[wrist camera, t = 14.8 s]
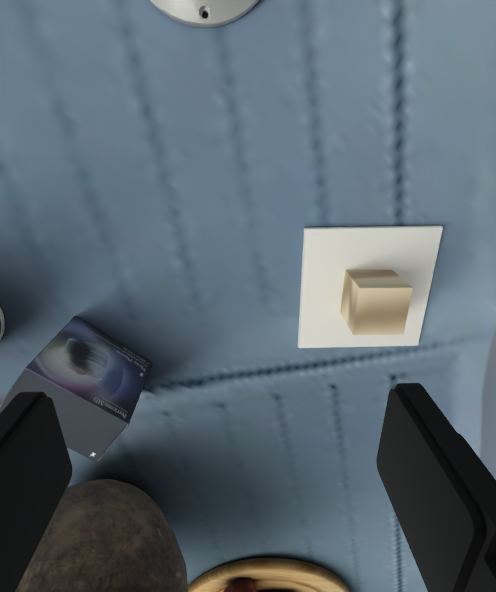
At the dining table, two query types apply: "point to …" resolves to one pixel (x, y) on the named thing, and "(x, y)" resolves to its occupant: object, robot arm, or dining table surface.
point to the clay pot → (106, 544)
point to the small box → (86, 385)
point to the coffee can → (2, 323)
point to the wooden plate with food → (268, 577)
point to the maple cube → (375, 302)
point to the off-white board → (362, 256)
